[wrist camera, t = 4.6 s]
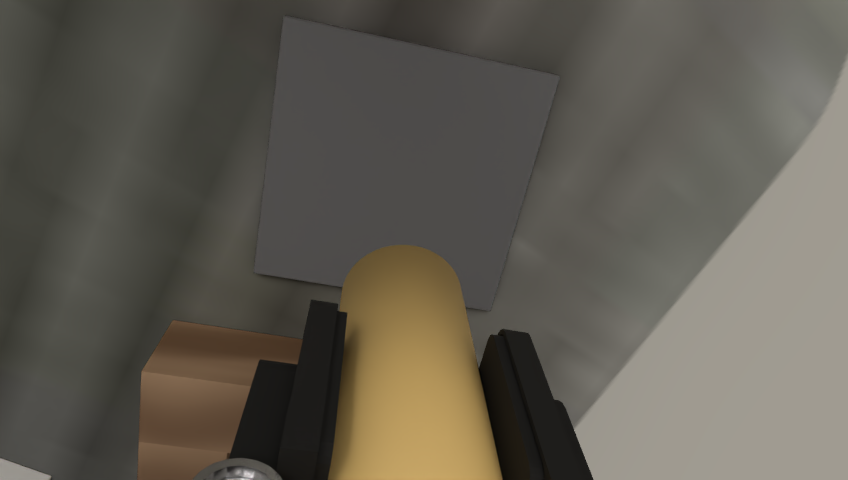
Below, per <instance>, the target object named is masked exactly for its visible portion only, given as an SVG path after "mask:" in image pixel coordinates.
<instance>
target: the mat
mask: <svg viewBox="0 0 848 480" xmlns="http://www.w3.org/2000/svg"><path fill="white" fill-rule="evenodd" d="M559 79H560V77H559V76H558V75H556V74H552V73H547V72H543V71H538V70H533V69H529V68H524V67H520V66H515V65H511V64H506V63H501V62H497V61H492V60H488V59H483V58H479V57H474V56H470V55H465V54H460V53H456V52H451V51H447V50H442V49H438V48H433V47H428V46H424V45H419V44H415V43H410V42H406V41H401V40H396V39H392V38H387V37H383V36H378V35H374V34H369V33H365V32H360V31H355V30H351V29H346V28H342V27H337V26H333V25H328V24H323V23H319V22H314V21H310V20H305V19H301V18H296V17H292V16H287V15H285V16H283V24H282V32H281V41H280V49H279V58H278V66H277V75H276V84H275V92H274V101H273V109H272V118H271V127H270V135H269V144H268V152H267V161H266V170H265V178H264V187H263V195H262V204H261V212H260V221H259V230H258V238H257V247H256V255H255V264H254V273H258V274H264V275H270V276H276V277H283V278H289V279H295V280H301V281H307V282H314V283H320V284H326V285H332V286H338V287H343V284H344V281H345V279H346V277H347V275H348V273H349V272H350V270H351V269H352V268H353V266H354V265H355V264H356V263H357V262H358V261H359V260H360V259H362V258H363V257H364V256H366V255H367V254H369V253H371V252H373V251H375V250H378V249H380V248H383V247H388V246H393V245H412V246H418V247H422V248H425V249H427V250H430V251H432V252H434V253H436V254H437V255H439V256H440V257H442V258H443V259H444V260H445V261H446V262H447V263H448V264H449V265H450V266H451V267H452V268H453V270H454V271H455V273H456V275H457V277H458V279H459V282H460V286H461V290H462V295H463V300H464V304H465V307H468V308H474V309H481V310H487V311H491V308H492V305H493V301H494V298H495V295H496V291H497V288H498V285H499V281H500V278H501V274H502V271H503V268H504V264H505V261H506V258H507V254H508V251H509V247H510V244H511V241H512V237H513V234H514V231H515V227H516V224H517V220H518V217H519V214H520V210H521V207H522V204H523V200H524V197H525V194H526V190H527V187H528V183H529V180H530V177H531V173H532V170H533V167H534V163H535V160H536V156H537V153H538V150H539V146H540V143H541V140H542V136H543V133H544V129H545V126H546V123H547V119H548V116H549V113H550V109H551V106H552V103H553V99H554V96H555V92H556V89H557V86H558V82H559Z"/></svg>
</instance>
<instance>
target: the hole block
mask: <svg viewBox="0 0 848 480" xmlns="http://www.w3.org/2000/svg"><path fill="white" fill-rule="evenodd" d="M302 341H303V339H297V338H290V337H283V336H276V335H270V334H263V333H256V332H250V331H243V330H236V329H229V328H223V327H216V326H209V325H203V324H196V323H189V322H182V321H176V320H173V321H172V322H171V324H170V326H169V327H168V329H167V331H166V332H165V334H164V335H163V337H162V339H161V340H160V342H159V344H158V345H157V347H156V349H155V350H154V352H153V353H152V355H151V357H150V358H149V360H148V362H147V363H146V365H145V367H144V368H143V370H142V371H141V397H140V423H139V450H138V476H137V480H192V479H193V478H194V477H195V476H196V475H197V474H198V473H199V472H200V471H201V470H203V469H205V468H206V467H208V466H210V465H211V464H213V463H216V462H219V461H223V460H226V459H229V456H230V453H231V449H232V446H233V443H234V440H235V436H236V433H237V430H238V427H239V423H240V420H241V417H242V414H243V410H244V407H245V404H246V401H247V397H248V394H249V391H250V388H251V384H252V381H253V378H254V375H255V371H256V368H257V365H258V362H259V360H260V359H262V360H269V361H277V362H284V363H291V364H298V360H299V355H300V350H301V346H302Z"/></svg>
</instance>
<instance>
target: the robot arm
mask: <svg viewBox="0 0 848 480" xmlns="http://www.w3.org/2000/svg"><path fill="white" fill-rule="evenodd" d="M337 308H338V304H336V303H329V302H323V301H316V300H311V303H310V308H309V312H308V317H307V322H306V327H305V331H304V336H303V341H302V346H301V350H300V355H299V360H298V364H291V363H284V362H277V361H269V360H262V359H260V360H259V362H258V365H257V368H256V371H255V375H254V378H253V381H252V384H251V388H250V391H249V394H248V397H247V401H246V404H245V407H244V410H243V414H242V417H241V420H240V423H239V427H238V430H237V433H236V436H235V440H234V443H233V446H232V449H231V453H230V456H229V459H226V460H223V461H219V462H216V463H213V464H211V465H210V466H208V467H206V468H205V469H203V470H201V471H200V472H199V473H198V474H197V475H196V476H195V477H194V478H193V479H192V480H328V475H329V470H330V465H331V459H332V453H333V446H334V438H335V428H336V419H337V409H338V400H339V390H340V380H341V371H342V361H343V352H344V342H345V332H346V323H347V312H340V311H337ZM479 373H480V378H481V382H482V387H483V391H484V396H485V400H486V405H487V410H488V414H489V419H490V423H491V428H492V433H493V437H494V442H495V446H496V451H497V455H498V460H499V465H500V469H501V474H502V478H503V480H593V477H592V475H591V472H590V470H589V467H588V465H587V462H586V460H585V457H584V455H583V452H582V449H581V447H580V444H579V442H578V439H577V437H576V434H575V432H574V429H573V426H572V424H571V421H570V419H569V416H568V414H567V411H566V408H565V407H564V405H563V403H562V402H560V401H559V400H554V399H553V396H552V393H551V391H550V388H549V385H548V383H547V380H546V377H545V375H544V372H543V369H542V367H541V364H540V361H539V359H538V356H537V353H536V351H535V348H534V345H533V342H532V340H531V337H530V335H529V334H528V333H525V332H518V331H512V330H505V329H502V330H500V332H499V333H498V335H490V337H489V339H488V341H487V345H486V348H485V351H484V354H483V358H482V361H481V364H480V367H479Z"/></svg>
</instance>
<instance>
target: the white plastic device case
mask: <svg viewBox="0 0 848 480" xmlns="http://www.w3.org/2000/svg"><path fill="white" fill-rule="evenodd" d="M0 480H51V476H50V475H47V474H44V473H41V472H38V471H35V470H33V469H30V468H27V467H24V466H21V465H18V464H16V463H13V462H10V461H7V460H4V459H1V458H0Z"/></svg>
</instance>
